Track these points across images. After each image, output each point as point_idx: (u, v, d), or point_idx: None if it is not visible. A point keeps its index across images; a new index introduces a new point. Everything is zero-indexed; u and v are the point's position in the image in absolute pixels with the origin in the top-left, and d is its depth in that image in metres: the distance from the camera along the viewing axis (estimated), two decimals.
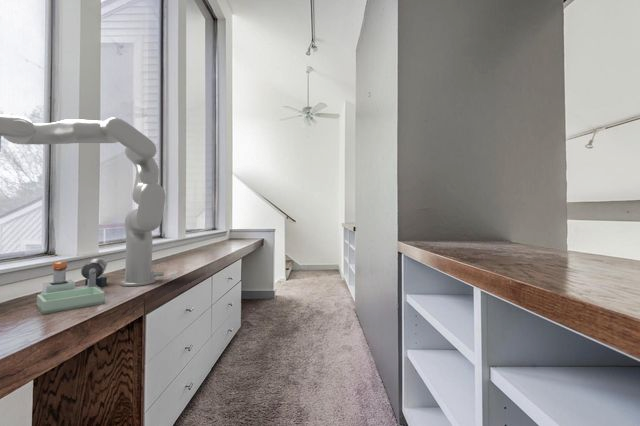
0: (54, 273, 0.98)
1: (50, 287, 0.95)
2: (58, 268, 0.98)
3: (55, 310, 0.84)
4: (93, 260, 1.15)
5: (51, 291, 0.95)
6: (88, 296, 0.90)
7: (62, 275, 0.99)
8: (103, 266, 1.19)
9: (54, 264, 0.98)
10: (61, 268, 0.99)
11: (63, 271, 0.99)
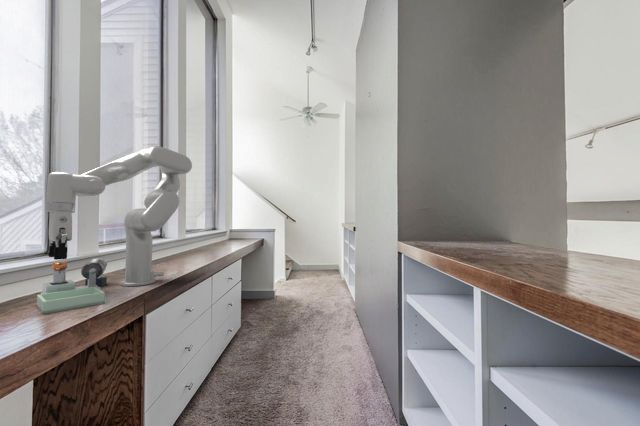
0: (54, 273, 0.98)
1: (50, 287, 0.95)
2: (58, 268, 0.98)
3: (55, 310, 0.84)
4: (93, 260, 1.15)
5: (51, 291, 0.95)
6: (88, 296, 0.90)
7: (62, 275, 0.99)
8: (103, 266, 1.19)
9: (54, 264, 0.98)
10: (61, 268, 0.99)
11: (63, 271, 0.99)
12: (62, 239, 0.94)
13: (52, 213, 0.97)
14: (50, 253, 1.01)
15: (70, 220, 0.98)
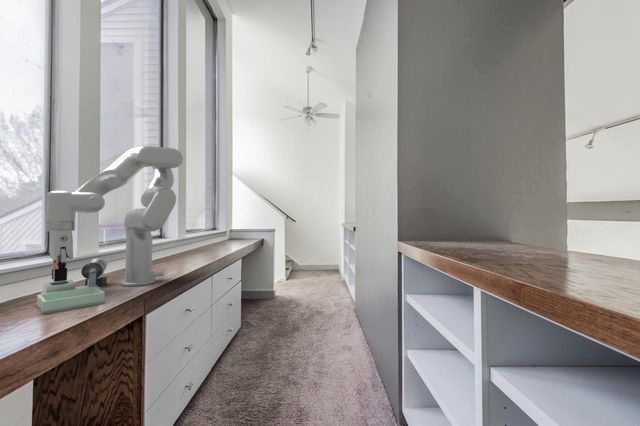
0: None
1: (50, 287, 0.95)
2: None
3: (55, 310, 0.84)
4: (93, 260, 1.15)
5: (51, 291, 0.95)
6: (88, 296, 0.90)
7: None
8: (103, 266, 1.19)
9: (54, 264, 0.98)
10: None
11: None
12: (62, 263, 0.96)
13: (52, 232, 0.97)
14: None
15: (71, 239, 0.98)
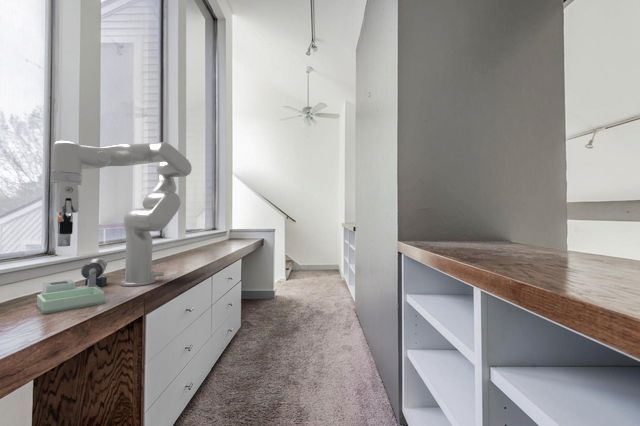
0: (59, 226, 0.95)
1: (50, 287, 0.95)
2: None
3: (55, 310, 0.84)
4: (93, 260, 1.15)
5: (51, 291, 0.95)
6: (88, 296, 0.90)
7: None
8: (103, 266, 1.19)
9: (59, 217, 0.95)
10: None
11: None
12: (67, 215, 0.93)
13: (58, 183, 0.94)
14: None
15: (76, 191, 0.95)
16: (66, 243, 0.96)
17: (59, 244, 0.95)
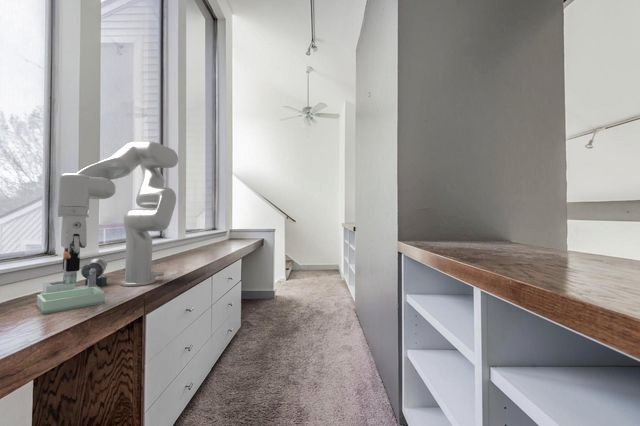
0: (65, 263, 0.90)
1: (50, 287, 0.95)
2: None
3: (55, 310, 0.84)
4: (93, 260, 1.15)
5: (51, 291, 0.95)
6: (88, 296, 0.90)
7: None
8: (103, 266, 1.19)
9: (65, 253, 0.90)
10: None
11: None
12: (74, 252, 0.88)
13: (65, 218, 0.89)
14: None
15: (84, 225, 0.91)
16: (72, 280, 0.91)
17: (65, 282, 0.90)
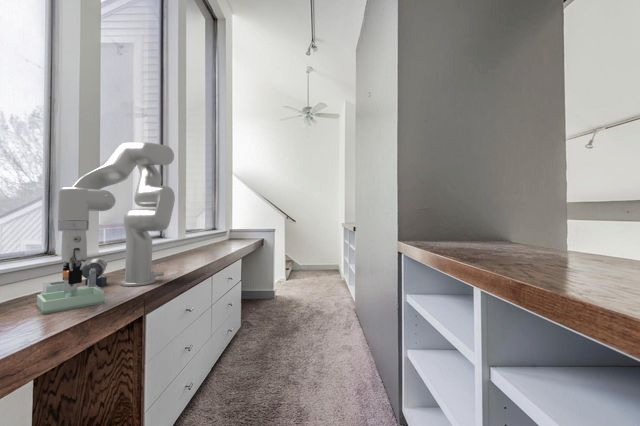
0: (65, 282, 0.90)
1: (50, 287, 0.95)
2: None
3: (55, 310, 0.84)
4: (93, 260, 1.15)
5: (51, 291, 0.95)
6: (88, 296, 0.90)
7: (74, 284, 0.91)
8: (103, 266, 1.19)
9: (64, 272, 0.90)
10: None
11: None
12: (77, 263, 0.87)
13: (65, 232, 0.89)
14: None
15: (84, 239, 0.91)
16: None
17: None
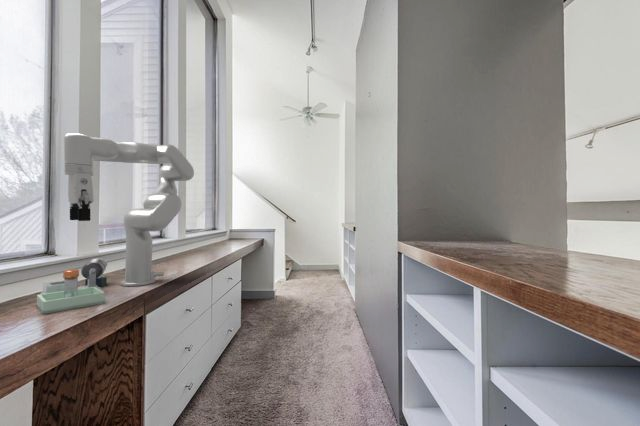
0: (65, 282, 0.90)
1: (50, 287, 0.95)
2: (69, 277, 0.90)
3: (55, 310, 0.84)
4: (93, 260, 1.15)
5: (51, 291, 0.95)
6: (88, 296, 0.90)
7: (74, 284, 0.91)
8: (103, 266, 1.19)
9: (65, 272, 0.90)
10: (73, 276, 0.91)
11: (75, 280, 0.91)
12: (85, 200, 0.95)
13: (72, 175, 0.96)
14: (71, 216, 1.01)
15: (90, 182, 0.98)
16: None
17: None
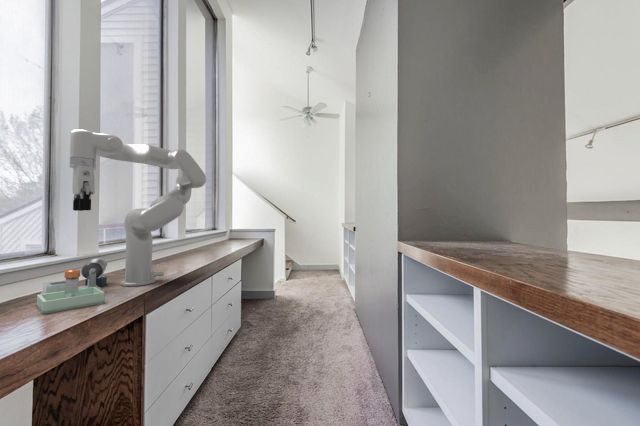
0: (66, 282, 0.90)
1: (50, 287, 0.95)
2: (71, 276, 0.90)
3: (55, 310, 0.84)
4: (93, 260, 1.15)
5: (51, 291, 0.95)
6: (88, 296, 0.90)
7: (75, 284, 0.91)
8: (103, 266, 1.19)
9: (67, 272, 0.90)
10: (74, 276, 0.91)
11: (76, 280, 0.92)
12: (86, 191, 1.01)
13: (76, 167, 1.03)
14: (74, 207, 1.08)
15: (92, 174, 1.05)
16: None
17: None
